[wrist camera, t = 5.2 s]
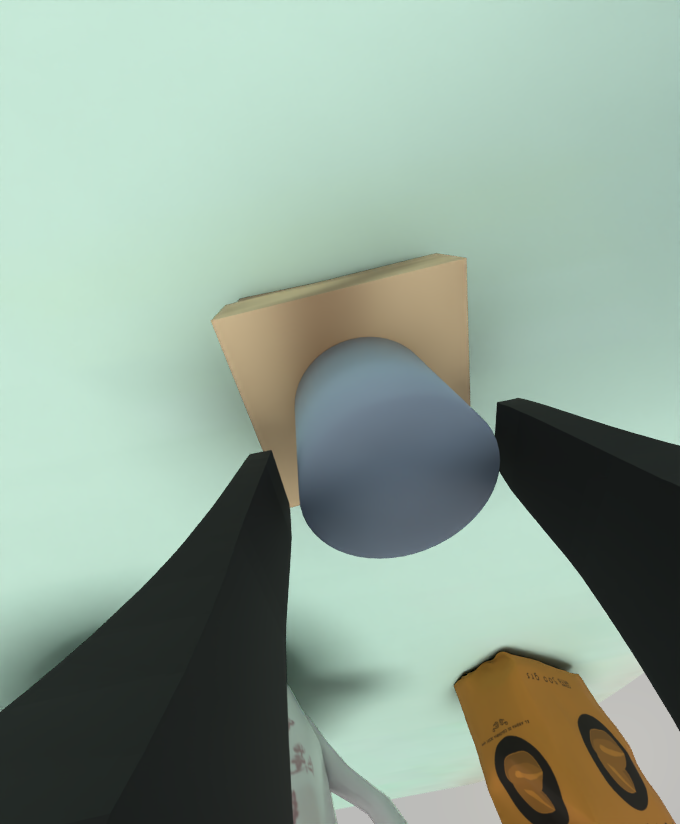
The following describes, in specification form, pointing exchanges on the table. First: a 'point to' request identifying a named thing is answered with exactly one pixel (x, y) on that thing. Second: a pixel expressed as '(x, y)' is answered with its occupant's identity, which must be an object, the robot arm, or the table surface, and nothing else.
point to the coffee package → (552, 748)
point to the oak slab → (341, 338)
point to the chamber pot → (327, 777)
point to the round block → (387, 451)
